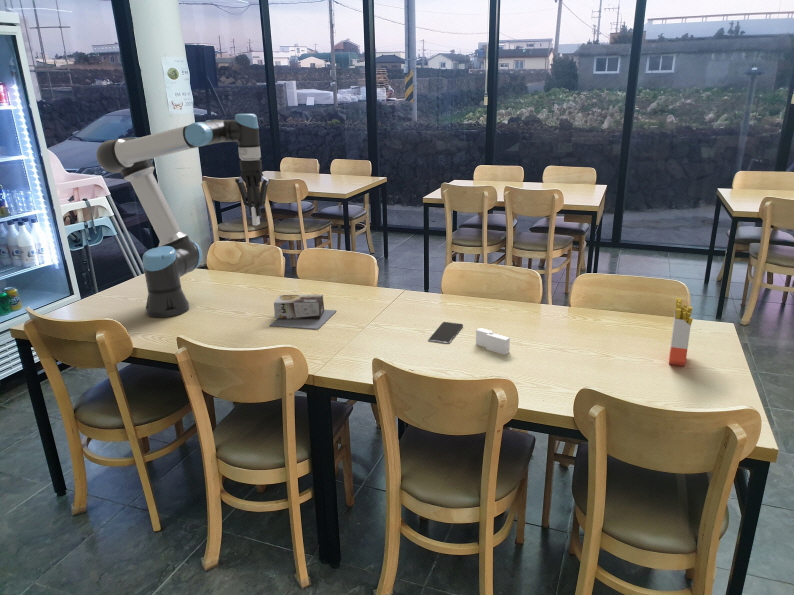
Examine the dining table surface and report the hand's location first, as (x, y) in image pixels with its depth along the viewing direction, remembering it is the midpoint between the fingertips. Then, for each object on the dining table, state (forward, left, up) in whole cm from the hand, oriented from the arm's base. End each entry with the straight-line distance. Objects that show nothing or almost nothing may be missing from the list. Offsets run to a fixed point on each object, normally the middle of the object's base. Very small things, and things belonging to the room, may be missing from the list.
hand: (256, 224), depth 224 cm
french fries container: (+143, -25, -31) cm, 148 cm away
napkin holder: (+90, -25, -31) cm, 98 cm away
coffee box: (+11, -12, -27) cm, 32 cm away
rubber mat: (+22, -13, -31) cm, 40 cm away
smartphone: (+74, -17, -31) cm, 82 cm away
